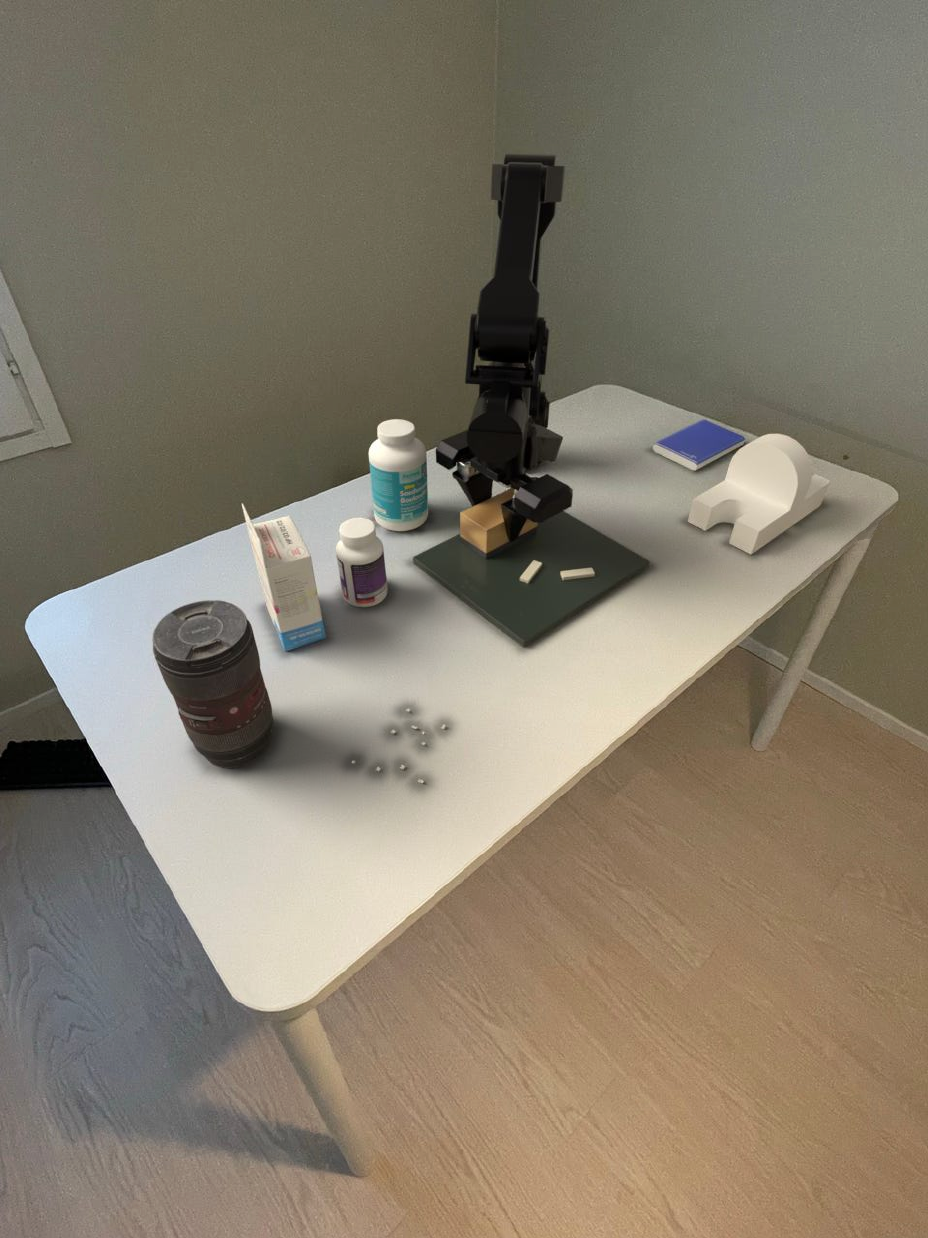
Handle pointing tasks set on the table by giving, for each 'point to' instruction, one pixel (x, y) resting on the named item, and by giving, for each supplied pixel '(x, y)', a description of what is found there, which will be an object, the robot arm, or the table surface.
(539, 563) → the chalk stroke
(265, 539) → the ink box
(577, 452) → the table surface
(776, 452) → the block with arch cutout
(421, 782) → the crumbs
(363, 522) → the pill bottle
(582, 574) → the chalk stroke
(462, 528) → the eraser
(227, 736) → the camera lens
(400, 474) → the pill bottle
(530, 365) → the robot arm
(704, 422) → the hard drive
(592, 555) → the chalkboard
